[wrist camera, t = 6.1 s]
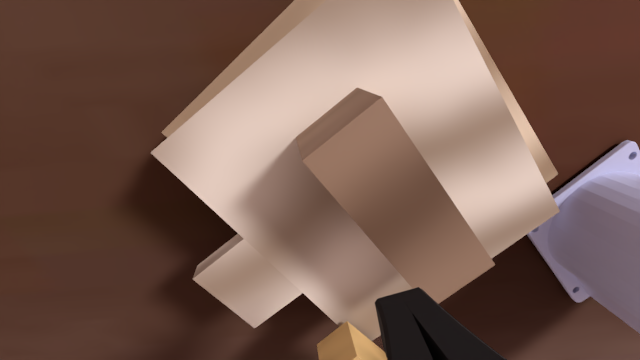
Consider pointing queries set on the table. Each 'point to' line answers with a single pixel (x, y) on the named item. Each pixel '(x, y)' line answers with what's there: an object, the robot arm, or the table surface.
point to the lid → (359, 165)
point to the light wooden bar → (348, 346)
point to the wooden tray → (295, 14)
